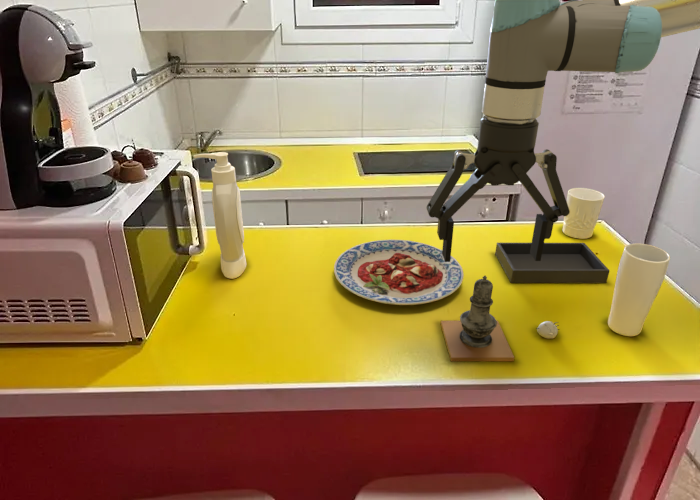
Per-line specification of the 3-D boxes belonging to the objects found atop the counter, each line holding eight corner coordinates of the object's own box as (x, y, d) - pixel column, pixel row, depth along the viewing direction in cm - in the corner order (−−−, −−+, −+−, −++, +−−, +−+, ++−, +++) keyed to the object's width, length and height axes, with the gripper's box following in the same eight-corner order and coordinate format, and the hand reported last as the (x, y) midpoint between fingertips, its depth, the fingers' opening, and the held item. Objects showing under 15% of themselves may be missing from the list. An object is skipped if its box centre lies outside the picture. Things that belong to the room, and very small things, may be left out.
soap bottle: (212, 253, 113) (197, 144, 102) (248, 252, 114) (237, 143, 103) (205, 284, 102) (188, 165, 91) (245, 282, 103) (233, 163, 91)
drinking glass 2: (608, 338, 88) (632, 260, 81) (597, 315, 93) (618, 241, 87) (651, 342, 87) (678, 264, 80) (637, 319, 93) (661, 244, 86)
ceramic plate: (405, 238, 121) (406, 226, 119) (490, 286, 102) (492, 273, 101) (310, 268, 108) (309, 255, 106) (386, 330, 89) (387, 316, 88)
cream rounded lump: (562, 338, 87) (565, 325, 86) (539, 340, 87) (542, 327, 86) (552, 327, 90) (555, 315, 89) (531, 329, 90) (533, 316, 89)
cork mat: (497, 324, 91) (497, 320, 91) (513, 361, 82) (514, 357, 82) (440, 324, 91) (440, 320, 90) (450, 361, 82) (451, 357, 82)
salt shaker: (497, 348, 84) (509, 285, 78) (461, 348, 84) (470, 285, 78) (489, 327, 89) (499, 266, 83) (454, 327, 89) (462, 266, 83)
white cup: (555, 225, 128) (563, 187, 123) (587, 226, 128) (597, 188, 123) (565, 239, 121) (574, 199, 116) (600, 240, 121) (610, 200, 116)
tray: (581, 254, 114) (584, 242, 113) (606, 283, 104) (609, 270, 102) (494, 254, 114) (496, 242, 113) (510, 283, 103) (513, 270, 102)
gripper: (591, 110, 73) (562, 245, 82) (413, 111, 72) (406, 246, 82) (616, 123, 66) (582, 268, 76) (420, 124, 66) (411, 270, 76)
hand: (490, 257), depth 79 cm, fingers open, 13 cm apart
